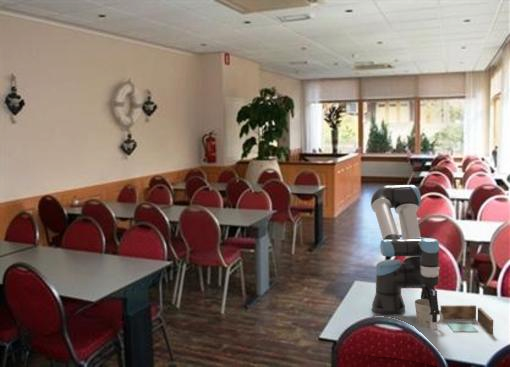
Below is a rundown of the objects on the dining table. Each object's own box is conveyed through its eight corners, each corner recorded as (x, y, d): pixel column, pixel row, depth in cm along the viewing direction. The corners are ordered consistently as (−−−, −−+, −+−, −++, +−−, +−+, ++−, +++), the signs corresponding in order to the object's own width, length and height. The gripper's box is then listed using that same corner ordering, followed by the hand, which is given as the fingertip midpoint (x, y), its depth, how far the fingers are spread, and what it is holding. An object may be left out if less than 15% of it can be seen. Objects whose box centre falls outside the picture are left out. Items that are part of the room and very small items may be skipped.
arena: (452, 334, 202) (452, 320, 202) (440, 318, 219) (440, 305, 219) (493, 334, 201) (493, 320, 200) (477, 318, 218) (478, 305, 217)
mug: (420, 319, 219) (420, 297, 218) (447, 326, 210) (447, 303, 209) (411, 324, 213) (411, 302, 212) (439, 332, 204) (439, 309, 203)
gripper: (447, 283, 197) (447, 334, 199) (430, 266, 221) (430, 312, 224) (428, 283, 197) (428, 334, 200) (413, 267, 222) (413, 312, 224)
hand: (429, 322), depth 212 cm, fingers open, 13 cm apart
